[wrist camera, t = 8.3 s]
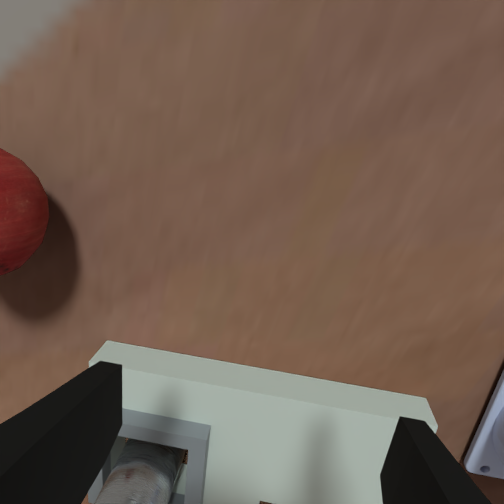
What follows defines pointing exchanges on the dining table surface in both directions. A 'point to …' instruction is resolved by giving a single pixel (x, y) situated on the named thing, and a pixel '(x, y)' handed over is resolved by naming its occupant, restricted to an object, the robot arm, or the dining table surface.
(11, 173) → the onion
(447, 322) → the dining table surface
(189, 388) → the board
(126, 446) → the silver and gold cylinder
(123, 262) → the dining table surface
